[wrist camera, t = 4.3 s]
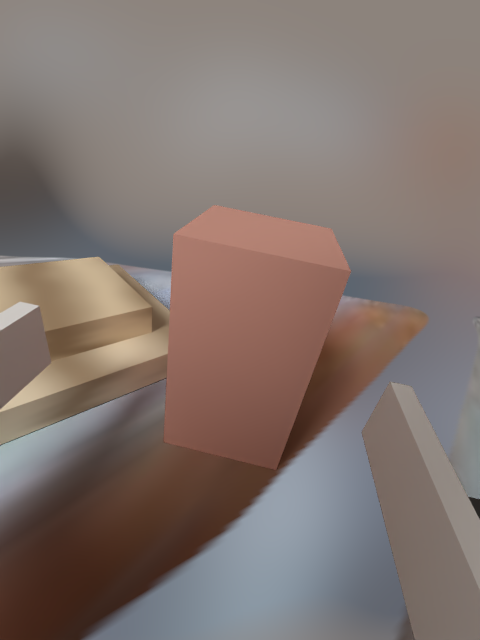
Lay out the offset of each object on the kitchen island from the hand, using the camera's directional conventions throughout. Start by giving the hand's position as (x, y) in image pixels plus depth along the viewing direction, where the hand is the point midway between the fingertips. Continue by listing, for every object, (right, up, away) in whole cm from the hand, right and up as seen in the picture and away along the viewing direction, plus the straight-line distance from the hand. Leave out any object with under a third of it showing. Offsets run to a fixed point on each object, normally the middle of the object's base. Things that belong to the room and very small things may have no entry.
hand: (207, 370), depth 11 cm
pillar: (+1, -4, +7) cm, 8 cm away
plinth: (-11, 0, +10) cm, 15 cm away
